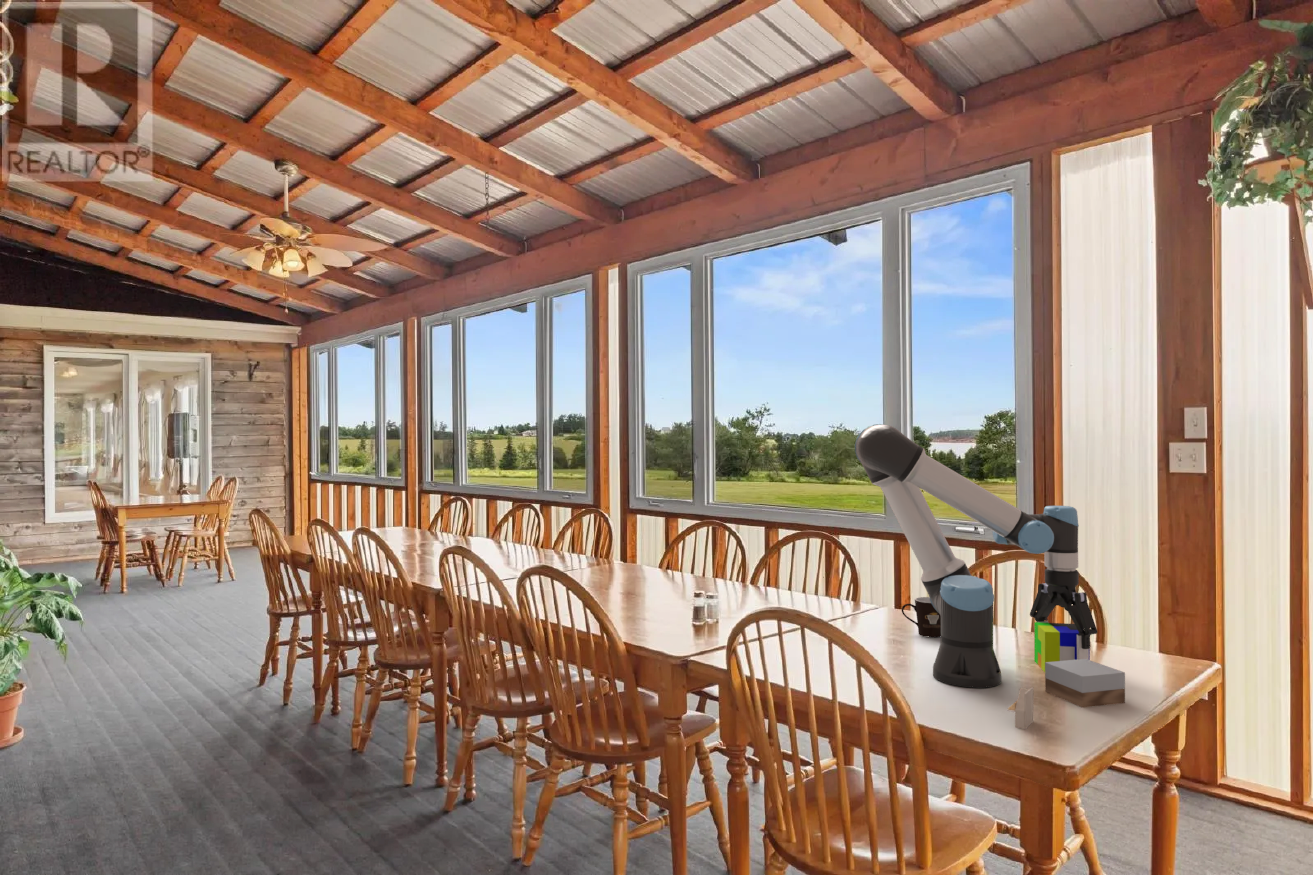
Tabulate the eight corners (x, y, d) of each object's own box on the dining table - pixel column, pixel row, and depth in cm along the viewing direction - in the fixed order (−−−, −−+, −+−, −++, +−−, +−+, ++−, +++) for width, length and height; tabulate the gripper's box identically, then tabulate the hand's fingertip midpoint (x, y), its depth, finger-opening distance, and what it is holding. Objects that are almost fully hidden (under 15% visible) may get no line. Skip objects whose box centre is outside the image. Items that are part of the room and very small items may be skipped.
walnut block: (1081, 709, 172) (1081, 693, 172) (1045, 693, 183) (1045, 678, 183) (1124, 705, 175) (1124, 689, 175) (1086, 689, 186) (1086, 674, 186)
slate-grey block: (1082, 693, 173) (1082, 676, 172) (1045, 677, 183) (1045, 662, 183) (1124, 688, 175) (1124, 672, 175) (1085, 674, 186) (1085, 658, 186)
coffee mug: (949, 633, 235) (949, 599, 235) (942, 639, 228) (942, 604, 228) (908, 628, 242) (908, 594, 241) (900, 634, 234) (900, 599, 234)
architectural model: (1007, 727, 162) (1007, 690, 162) (1017, 718, 167) (1017, 682, 167) (1025, 731, 160) (1025, 694, 160) (1035, 722, 165) (1035, 685, 165)
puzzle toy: (1089, 675, 195) (1089, 633, 195) (1044, 672, 197) (1045, 631, 197) (1076, 663, 205) (1077, 624, 205) (1034, 661, 207) (1034, 622, 207)
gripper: (1113, 576, 190) (1114, 666, 190) (1039, 560, 214) (1040, 640, 214) (1086, 578, 188) (1087, 669, 188) (1014, 561, 212) (1015, 642, 212)
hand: (1062, 654), depth 201 cm, fingers open, 13 cm apart
